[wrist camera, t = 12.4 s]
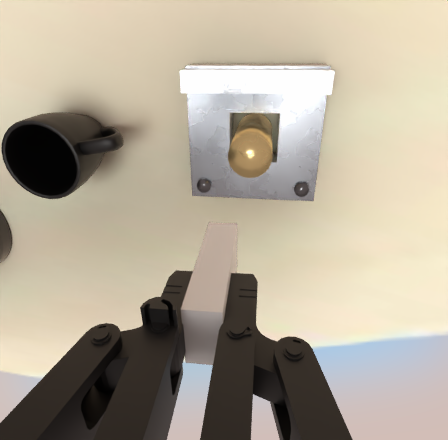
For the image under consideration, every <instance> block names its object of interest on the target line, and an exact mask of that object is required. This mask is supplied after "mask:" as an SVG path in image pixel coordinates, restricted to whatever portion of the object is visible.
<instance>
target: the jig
mask: <svg viewBox="0 0 448 440" xmlns="http://www.w3.org/2000/svg"><path fill="white" fill-rule="evenodd" d="M330 68H331V66H329V65H327V64H190V65H187V66H186V68H185V69H182V70H180V83H181V93H187V104H188V123H189V141H190V160H191V179H192V196H211V197H233V198H256V199H278V200H301V201H313V200H314V192H315V184H316V177H317V169H318V161H319V153H320V146H321V138H322V130H323V122H324V114H325V107H326V99H327V95H332V87H333V80H334V72H335V71H334V70H332V69H330ZM233 113H279V123H278V137H277V152H276V153H272V163H271V165H270V167H269V169H268V170H267V171H266V172H265V173H264V174H262V175H261V176H258V177H255V178H246V177H242V176H240V175H238V174H237V173H235V172H234V171H233V169H232V168H231V166H230V164H229V161H228V151H229V148H230V146H231V143H232V140H233Z"/></svg>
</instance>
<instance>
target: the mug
mask: <svg viewBox="0 0 448 440" xmlns="http://www.w3.org/2000/svg"><path fill="white" fill-rule="evenodd" d="M122 145H123V137H122V135H121V133H120V132H119V131H118V130H117V129H116V128H114V127H102V126H101V125H100V124H99V123H98V122H97V121H96V120H95V119H93V118H91V117H89V116H86V115H78V114H72V113H47V114H41V115H37V116H34V117H31V118H28V119H25V120H22V121H19V122H17V123H15V124H13V125H12V126H11V127H10V128H9V129H8V130H7V132H6V133H5V135H4V138H3V141H2V155H3V160H4V163H5V165H6V168H7V169H8V171H9V173H10V174H11V176H12V177H13V178H14V179H15V180H16V182H17V183H18V184H19V185H21V186H22V187H23V188H24V189H25V190H27V191H29V192H30V193H32V194H34V195H37V196H39V197H42V198H48V199H58V198H62V197H65V196H68V195H69V194H71V193H72V192H74V191H75V190H76V189H78V188H79V187H80V186H81V185H83V184H84V183H85V182H86V181H87V180H88V179H89V178H90V177H91V176H92V174H93V173H94V172H95V171H96V169H97V168H98V166H99V164H100V162H101V160H102V158H103V155H104V153H105V152H110V151H114V150H117V149H119V148H120V147H121V146H122Z"/></svg>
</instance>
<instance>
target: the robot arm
mask: <svg viewBox="0 0 448 440" xmlns="http://www.w3.org/2000/svg"><path fill="white" fill-rule="evenodd" d="M11 242H12V240H11V233H10V229H9V226H8V224H7V222H6V220H5V218H4V216H3V215H2V213H1V212H0V263H1V262H2V261H3V260H4V259H5V258H6V257H7V256H8V254H9V252H10V249H11ZM236 271H237V224H236V223H213V222H209V223H208V226H207V229H206V233H205V236H204V239H203V242H202V245H201V248H200V251H199V254H198V257H197V260H196V264H195V267H194V270H193V271H175V272H174V273H173V274H172V275H171V276H170V277H169V279H168V281H167V284H166V287H165V288H164V291H163V293H162V296H161V297H155V298H152V299H149V300H148V301H146V302H145V303H143V305H142V306H141V307H140V309H141V315H142V321H143V326H141V327H139V328H136V329H132V330H127V331H121V332H120V330H119V328H118V327H117V326H116V325H114V324H108V323H105V324H100V325H97V326H95V327H93V328H91V329H90V330H89V331H87V332H86V333H85V334H84V335H83V336H82V337H81V338H80V340H79V341H78V342H77V343H76V344H75V345H74V346H73V347H72V348H71V349H70V350H69V351H68V352H67V353H66V354H65V355H64V356H63V358H62V359H61V360H60V361H59V362H58V363H57V364H56V365H55V366H54V367H53V368H52V369H51V370H50V371H49V372H48V373H47V374H46V375H45V377H44V378H43V379H42V380H41V381H40V382H39V383H38V384H37V385H36V386H35V387H34V388H33V389H32V390H31V391H30V392H29V393H28V394H27V396H26V397H25V398H24V399H23V400H22V401H21V402H20V403H19V404H18V405H17V406H16V407H15V408H14V409H13V411H11V412H10V414H9V415H8V416H7V417H6V418H5V419H4V420H3V421H2V422H1V423H0V440H167V436H168V432H169V428H170V424H171V420H172V416H173V412H174V408H175V404H176V400H177V396H178V392H179V388H180V384H181V380H182V375H183V367H182V363H183V360H184V356H185V361H186V363H197V364H208V365H213V368H212V374H211V380H210V386H209V392H208V397H207V403H206V409H205V415H204V421H203V426H202V432H201V438H200V440H251V422H252V399H253V394H254V395H257V396H259V397H261V398H263V399H266V400H268V401H270V403H271V407H272V411H273V415H274V419H275V423H276V426H277V430H278V434H279V438H280V440H352V438H351V435H350V433H349V431H348V429H347V426H346V424H345V422H344V419H343V417H342V415H341V413H340V411H339V409H338V406H337V404H336V402H335V399H334V397H333V395H332V392H331V390H330V388H329V386H328V383H327V381H326V379H325V377H324V374H323V372H322V370H321V367H320V365H319V363H318V361H317V358H316V356H315V354H314V352H313V349H312V348H311V347H310V345H309V344H308V343H307V342H305V341H304V340H303V339H300V338H297V337H285V338H281V339H280V340H279V341H278V342H277V341H274V340H271V339H269V338H267V337H265V336H264V335H262V334H261V333H260V332H259V330H258V329H257V326H256V307H257V283H258V282H257V280H256V278H255V277H254V275H253V274H240V273H236Z"/></svg>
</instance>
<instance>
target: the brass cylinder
mask: <svg viewBox="0 0 448 440" xmlns="http://www.w3.org/2000/svg"><path fill="white" fill-rule="evenodd" d="M228 161H229V164H230V166H231V168H232V169H233V171H234V172H235V173H237V174H238V175H240V176H242V177H246V178H255V177H258V176H261V175H262V174H264V173H265V172H266V171H267V170H268V169H269V167H270V165H271V163H272V125H271V123H270V121H269V120H268V118H267V117H265V116H264V115H262V114H259V113H251V114H248V115H246V116H244V117H243V118H242V119H241V121H240V122H239V125H238V127H237V130H236V132H235V135H234V138H233V140H232V143H231V146H230V148H229V151H228Z"/></svg>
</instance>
